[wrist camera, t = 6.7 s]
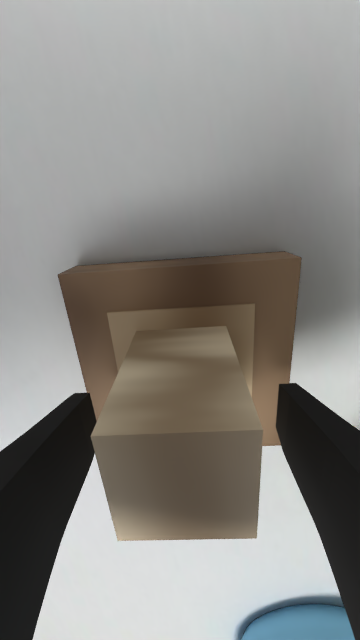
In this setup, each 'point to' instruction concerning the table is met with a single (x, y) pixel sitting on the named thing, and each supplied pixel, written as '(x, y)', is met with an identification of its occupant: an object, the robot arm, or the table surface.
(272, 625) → the sugar bowl
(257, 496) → the oak block
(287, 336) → the walnut plinth
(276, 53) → the table surface
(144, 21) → the table surface
